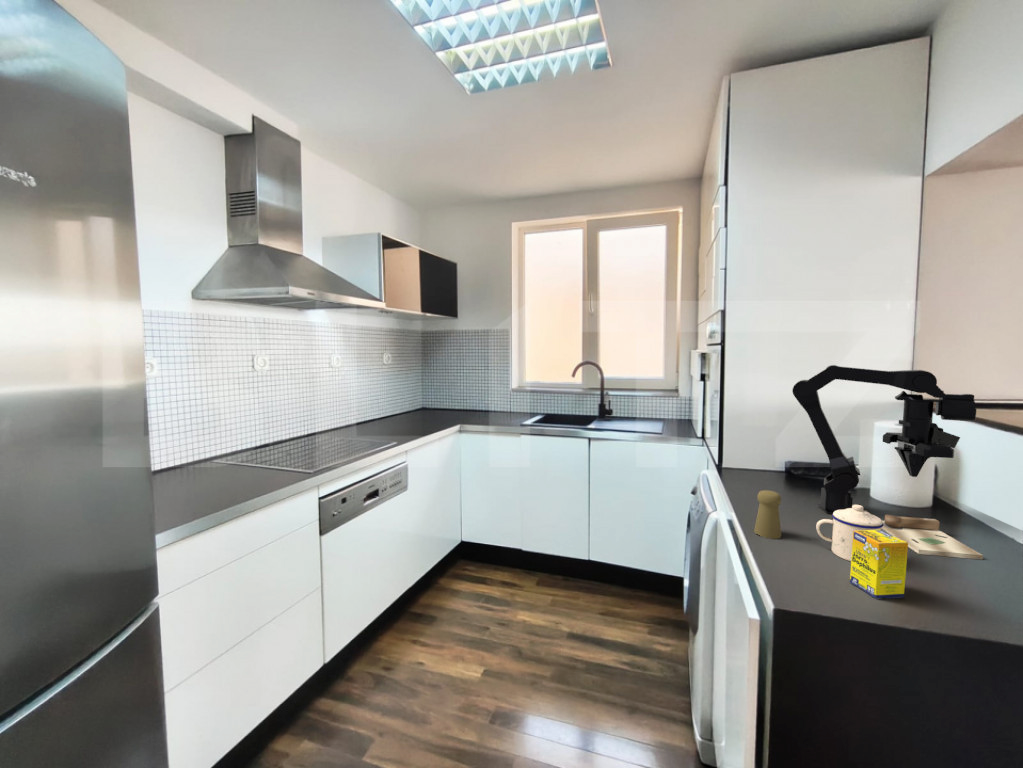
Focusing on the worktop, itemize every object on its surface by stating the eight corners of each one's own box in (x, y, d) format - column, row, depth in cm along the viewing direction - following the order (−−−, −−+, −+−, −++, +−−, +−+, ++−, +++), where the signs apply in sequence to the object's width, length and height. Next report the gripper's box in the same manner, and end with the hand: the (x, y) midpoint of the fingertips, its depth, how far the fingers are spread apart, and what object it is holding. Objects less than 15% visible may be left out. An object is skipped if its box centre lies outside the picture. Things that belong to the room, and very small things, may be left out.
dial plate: (918, 553, 101) (918, 549, 101) (874, 523, 119) (874, 519, 119) (982, 559, 98) (983, 554, 98) (927, 527, 116) (928, 523, 116)
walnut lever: (889, 526, 113) (889, 518, 113) (881, 522, 116) (882, 513, 116) (941, 530, 110) (941, 522, 110) (932, 525, 114) (933, 517, 113)
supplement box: (848, 583, 89) (851, 530, 88) (876, 581, 89) (879, 529, 88) (875, 599, 83) (879, 543, 82) (905, 598, 83) (909, 541, 82)
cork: (785, 540, 109) (787, 496, 108) (758, 538, 110) (760, 494, 109) (776, 530, 114) (778, 488, 114) (750, 528, 116) (752, 487, 115)
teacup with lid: (877, 552, 102) (880, 503, 101) (884, 569, 94) (888, 516, 93) (814, 540, 108) (816, 494, 107) (816, 555, 100) (818, 505, 99)
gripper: (983, 425, 105) (978, 489, 106) (930, 413, 123) (926, 469, 124) (927, 423, 108) (922, 486, 109) (883, 412, 126) (879, 466, 127)
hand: (913, 476), depth 117 cm, fingers closed
